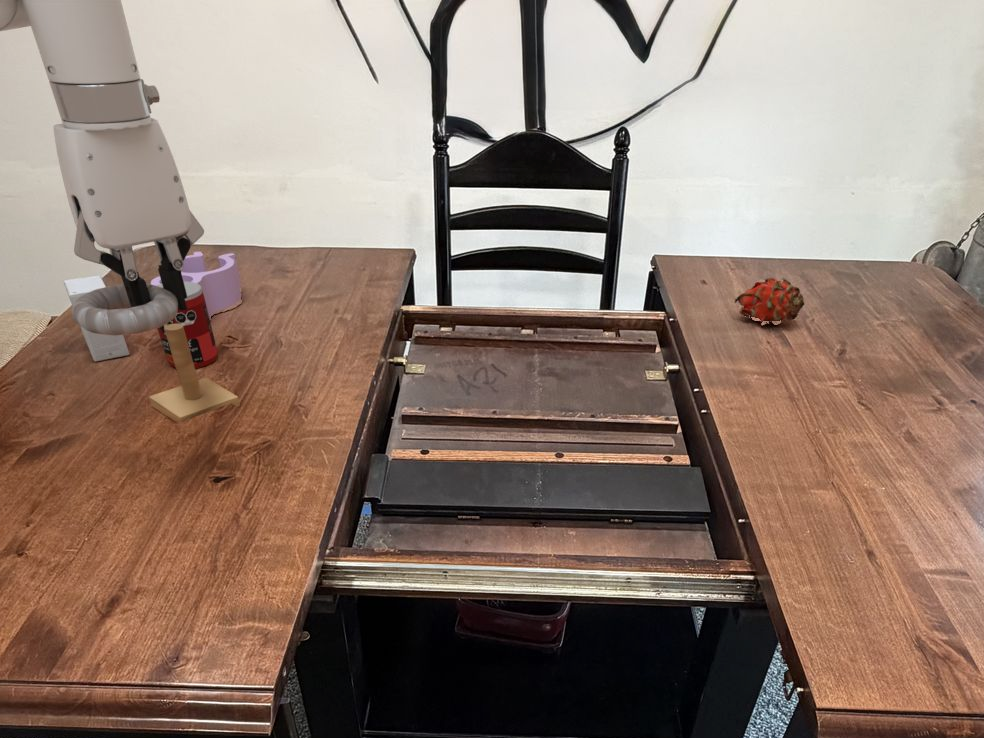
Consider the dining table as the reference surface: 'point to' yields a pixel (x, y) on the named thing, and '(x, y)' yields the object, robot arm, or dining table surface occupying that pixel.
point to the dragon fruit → (771, 301)
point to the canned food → (193, 328)
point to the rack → (188, 384)
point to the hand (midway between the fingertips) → (161, 309)
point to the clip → (212, 280)
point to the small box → (97, 343)
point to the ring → (123, 311)
